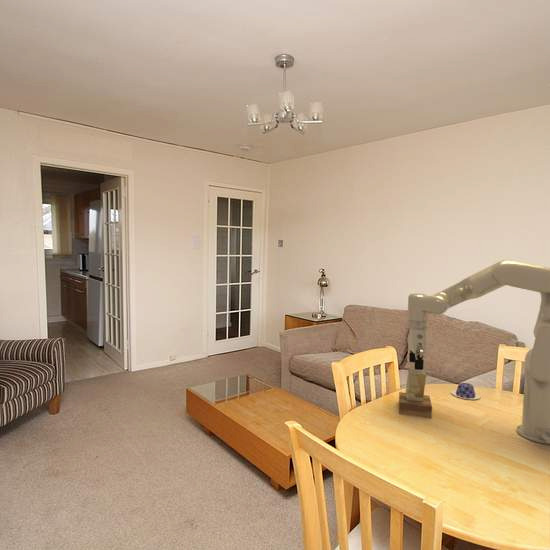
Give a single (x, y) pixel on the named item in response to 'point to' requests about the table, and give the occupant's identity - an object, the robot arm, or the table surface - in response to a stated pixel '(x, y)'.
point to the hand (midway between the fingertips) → (416, 365)
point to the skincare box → (415, 385)
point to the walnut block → (415, 406)
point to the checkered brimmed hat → (465, 391)
